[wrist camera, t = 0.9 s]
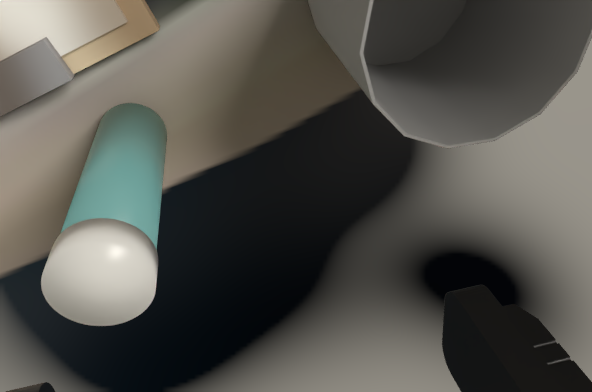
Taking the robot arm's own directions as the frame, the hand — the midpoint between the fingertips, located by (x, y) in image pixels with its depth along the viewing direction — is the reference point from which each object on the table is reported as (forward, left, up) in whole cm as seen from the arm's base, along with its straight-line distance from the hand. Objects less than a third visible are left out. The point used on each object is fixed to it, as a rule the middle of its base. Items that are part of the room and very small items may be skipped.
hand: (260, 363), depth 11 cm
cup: (-9, 0, -19) cm, 22 cm away
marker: (+6, +1, -19) cm, 20 cm away
